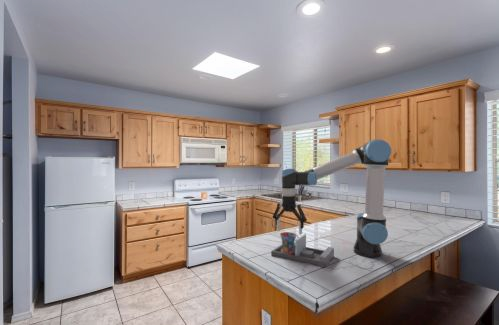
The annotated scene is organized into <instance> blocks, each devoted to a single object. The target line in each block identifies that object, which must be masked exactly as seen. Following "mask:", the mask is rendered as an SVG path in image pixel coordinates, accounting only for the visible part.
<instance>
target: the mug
mask: <svg viewBox="0 0 499 325" xmlns="http://www.w3.org/2000/svg"><path fill="white" fill-rule="evenodd" d="M279 235H280V237H281V244H282V249H281V252H282V253H287V254H294V253H295V248H294V245H295V240H296V239H298V238H299V237H300V236H298V235H297V234H296V233H294V232H290V231H289V232H288V231H287V232H286V231H283V232H280V234H279ZM296 237H297V238H296Z"/></svg>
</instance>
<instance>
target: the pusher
mask: <svg viewBox="0 0 499 325" xmlns="http://www.w3.org/2000/svg"><path fill="white" fill-rule="evenodd" d="M298 237H299V238H298ZM298 237H297V238H298V239H297V238H295V241H294V243H295V255H296V256H300V257H305V258H310V259H311V258H312V257H313V256H314V251H311V250H306V247H307V234H306V233H304V234H303V233H302V234H301V236H298Z"/></svg>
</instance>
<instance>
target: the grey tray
mask: <svg viewBox="0 0 499 325" xmlns="http://www.w3.org/2000/svg"><path fill="white" fill-rule="evenodd" d="M294 248H295V245H294ZM281 249H282V243H281V244H280V245H278V246H277V247H275V248H273V249H272V250H271V252H270V256H271V257H277V258H279V259H280V258H282V259H286V260H290V261H294V262H298V263H303V264H307V265H311V266H315V267H319V268H324V269H325V268H327V266H329V264H330V263H331V261H332V260H333V259H334V257H335V256H334V254H335V248H334V247H331V246H328V247H326V249H325V250H324V249H319V248H313V247H308V246H306V250H311V251H314V256H313V257H312V258H311V259H310V258H305V257H300V256H296V255H295V253H294V254H287V253H282V252H281Z"/></svg>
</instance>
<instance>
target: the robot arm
mask: <svg viewBox="0 0 499 325" xmlns="http://www.w3.org/2000/svg"><path fill="white" fill-rule="evenodd" d="M391 155H392V147H391V145H390V144H389V142H387V141H386V140H384V139H376V138H375V139H371V140H370V141H367V142H366V143H364V144H363V145H361V146H359V147H358V148H355V149H354V150H353V151H352V152H350V153H347V154H344V155H342V156H339V157H337V158H335V159H332V160H330V161H327V162H325V163H323V164H320V165H318V166H315V167H313V168H310V169H308V170H305V171H296V169H295V168H283V169H282V171H281V172H282V173H281V187H282V188H281V189H282V190H281V191H282V192H281V194H282V198H281V199H282V202H278V203H276V204H277V206H276V209H275V211H274V212H273V215H272V219H274V220H275V225H276V231H277V232H280V231H281V219H280V218H281V216H283V214H284V213H285V212H289V213H293V215H295V217H296V218H297V220H298V221H299V222H298V234H299V235H301V236H302V235H303V229H304V227H305V226H304V223H306V222H307V221H308V220H307V216H306V215H305V213H304V211H303V208H302V204H301V203H299V204H296V201H297V200H296V186H316V185H317V184H318V182H317V181H318V180H320V179H323V178H326V177H328V176H330V175H333V174H337V173H338V172H342V171H343V170H347V169H349V168H351V167H355V166H357V165H363V166H365V168H366V175H365V176H366V178H365V179H366V180H365V182H366V183H365V201H364V203H365V204H364V205H365V206H364V212H358V213H357V215H356V240H355V243H354V244H353V253H355V254H356V255H358V256H362V257H366V258H380V257H382V256H383V249H382V246H381V244H383V243H384V242H385V241H387V239H388V235H389V233H388V232H389V231H388V228H387V227H386V226H387V218H386V216H385V215H384V201H385V200H384V197H385V195H384V194H385V177H386V176H385V173H386V172H385V171H386V168H387V167H388V166H389V159H390V157H391ZM281 207H282V209H281ZM279 211H280V212H279Z"/></svg>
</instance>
